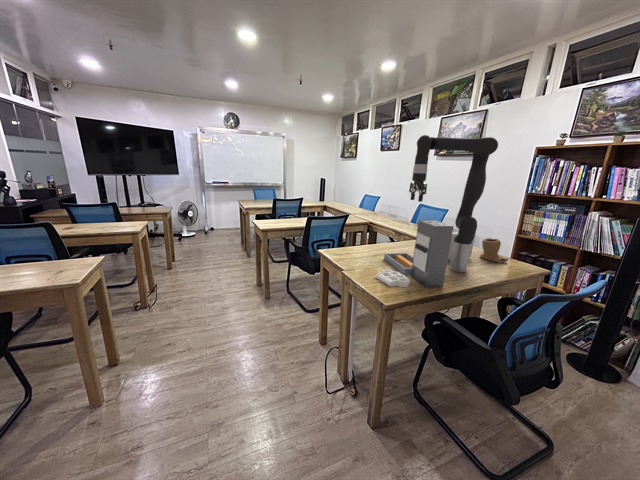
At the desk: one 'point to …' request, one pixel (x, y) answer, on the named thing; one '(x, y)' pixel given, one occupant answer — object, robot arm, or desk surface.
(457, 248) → the robot arm
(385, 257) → the tray
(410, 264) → the orange block
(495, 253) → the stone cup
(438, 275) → the cabinet
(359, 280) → the desk surface
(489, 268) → the desk surface
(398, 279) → the white brass knuckles
